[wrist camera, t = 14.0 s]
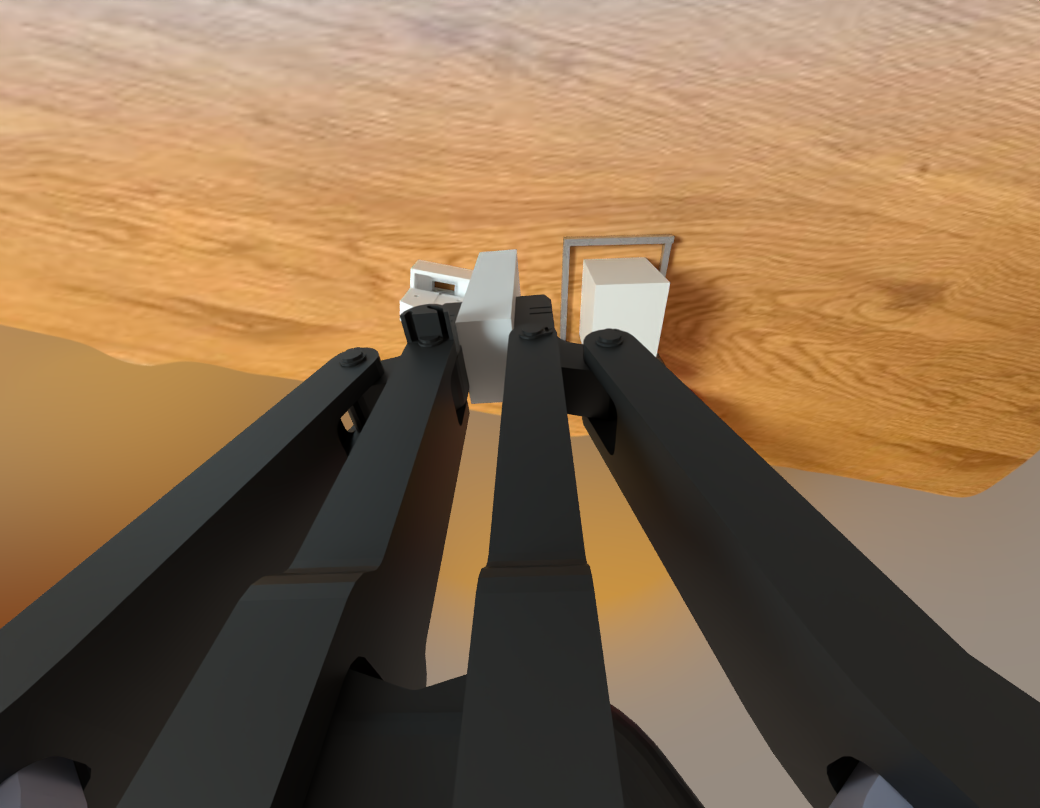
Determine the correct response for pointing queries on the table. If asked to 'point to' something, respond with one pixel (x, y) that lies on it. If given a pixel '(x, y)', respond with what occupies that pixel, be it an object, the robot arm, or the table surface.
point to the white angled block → (425, 282)
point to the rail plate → (608, 240)
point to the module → (624, 298)
